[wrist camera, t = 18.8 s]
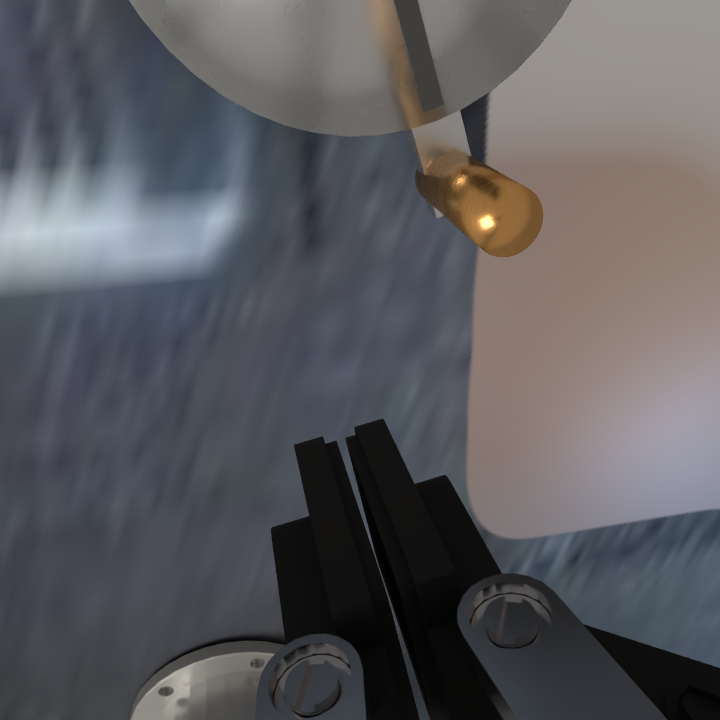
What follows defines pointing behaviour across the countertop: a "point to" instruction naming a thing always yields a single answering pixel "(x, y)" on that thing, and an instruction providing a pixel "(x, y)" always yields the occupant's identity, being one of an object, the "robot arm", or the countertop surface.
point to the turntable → (376, 82)
